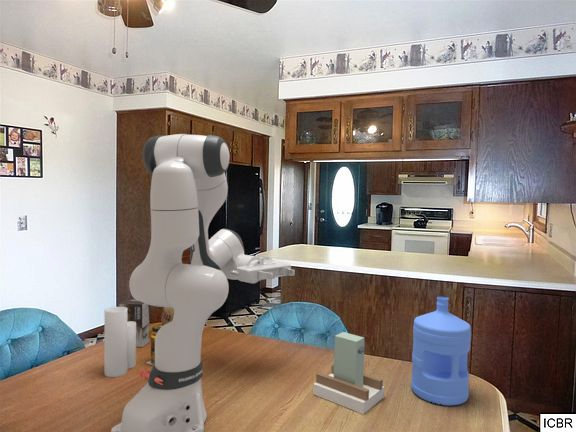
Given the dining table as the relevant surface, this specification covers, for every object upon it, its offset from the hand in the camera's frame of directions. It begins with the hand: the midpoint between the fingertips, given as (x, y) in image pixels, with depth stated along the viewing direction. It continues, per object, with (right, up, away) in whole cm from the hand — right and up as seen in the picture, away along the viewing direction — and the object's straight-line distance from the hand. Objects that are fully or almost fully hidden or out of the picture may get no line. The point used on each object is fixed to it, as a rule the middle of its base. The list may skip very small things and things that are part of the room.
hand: (283, 274), depth 122 cm
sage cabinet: (+18, -30, -9) cm, 36 cm away
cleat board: (+19, -33, -8) cm, 39 cm away
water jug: (+45, -34, -6) cm, 57 cm away
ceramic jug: (-41, -30, +35) cm, 62 cm away
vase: (-52, -31, +6) cm, 61 cm away
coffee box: (-56, -30, +28) cm, 70 cm away
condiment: (-41, -31, +13) cm, 53 cm away
